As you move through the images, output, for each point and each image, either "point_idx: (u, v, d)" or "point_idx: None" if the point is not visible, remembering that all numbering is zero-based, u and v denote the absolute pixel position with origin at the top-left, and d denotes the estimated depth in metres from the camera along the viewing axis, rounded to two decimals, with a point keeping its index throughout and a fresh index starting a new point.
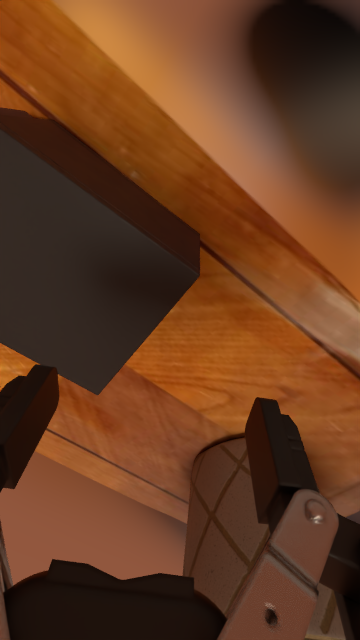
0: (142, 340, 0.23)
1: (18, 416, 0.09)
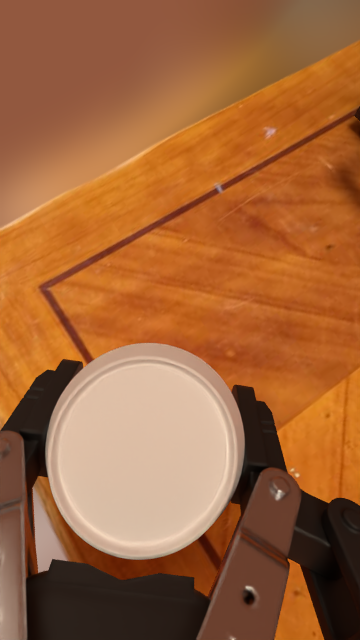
0: None
1: (52, 407, 0.10)
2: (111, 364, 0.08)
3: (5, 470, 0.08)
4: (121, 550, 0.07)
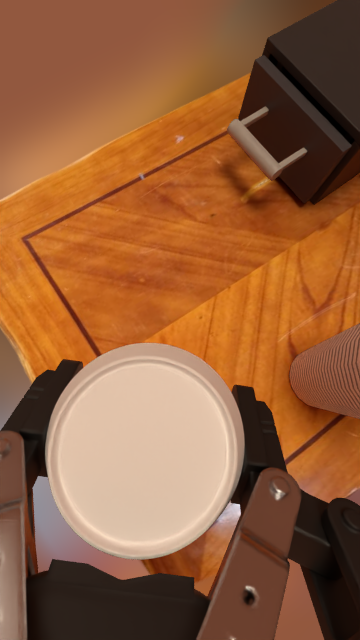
0: None
1: (52, 407, 0.10)
2: (111, 364, 0.08)
3: (5, 470, 0.08)
4: (121, 550, 0.07)
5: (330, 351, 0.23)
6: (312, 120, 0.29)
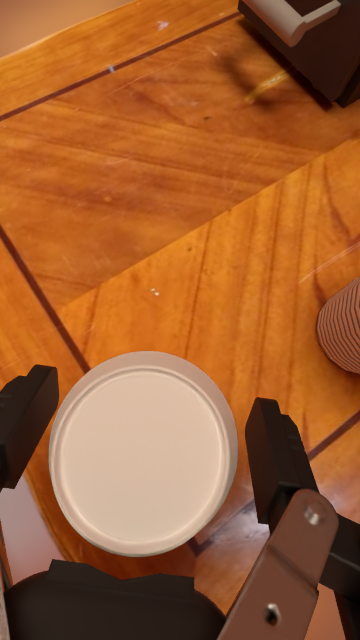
0: None
1: (18, 416, 0.09)
2: (110, 373, 0.09)
3: None
4: (120, 548, 0.08)
5: None
6: None
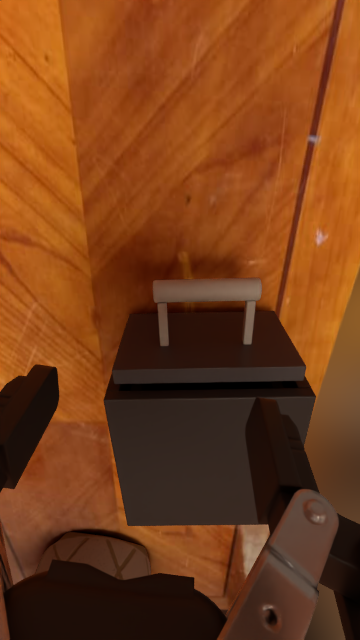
0: (208, 524, 0.27)
1: (18, 416, 0.09)
2: None
3: None
4: None
5: None
6: (176, 368, 0.20)
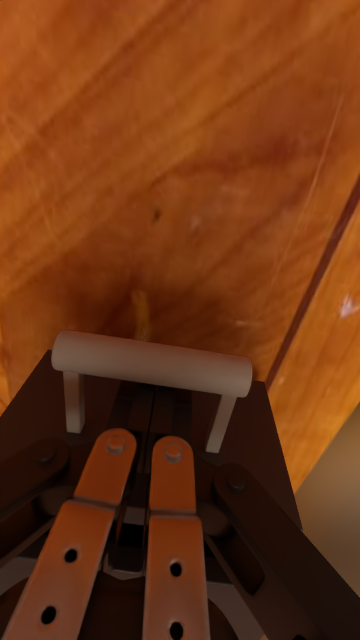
0: None
1: (149, 407, 0.11)
2: None
3: (113, 468, 0.08)
4: None
5: None
6: None
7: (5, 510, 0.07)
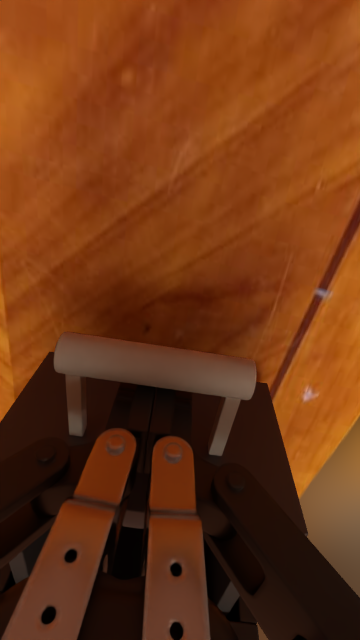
0: None
1: (149, 407, 0.11)
2: None
3: (113, 468, 0.08)
4: None
5: None
6: None
7: (5, 510, 0.07)
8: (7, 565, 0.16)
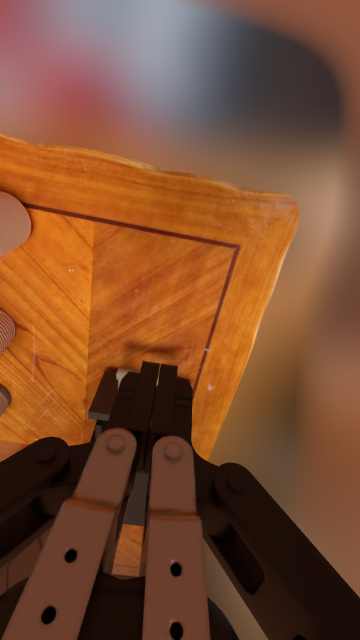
0: None
1: (149, 407, 0.11)
2: None
3: (113, 468, 0.08)
4: None
5: None
6: None
7: (5, 510, 0.07)
8: None
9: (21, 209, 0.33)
